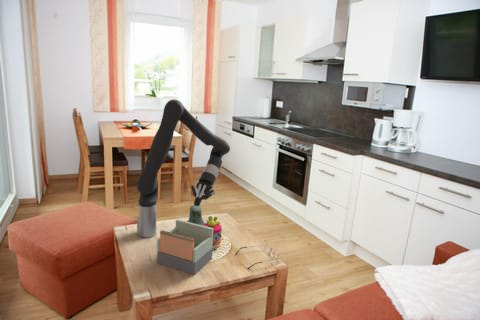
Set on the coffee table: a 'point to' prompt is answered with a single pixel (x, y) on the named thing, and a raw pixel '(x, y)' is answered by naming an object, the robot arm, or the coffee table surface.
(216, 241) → the cake
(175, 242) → the panel
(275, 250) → the eyeglasses
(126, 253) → the coffee table surface
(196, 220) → the tree stump
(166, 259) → the truck bed
